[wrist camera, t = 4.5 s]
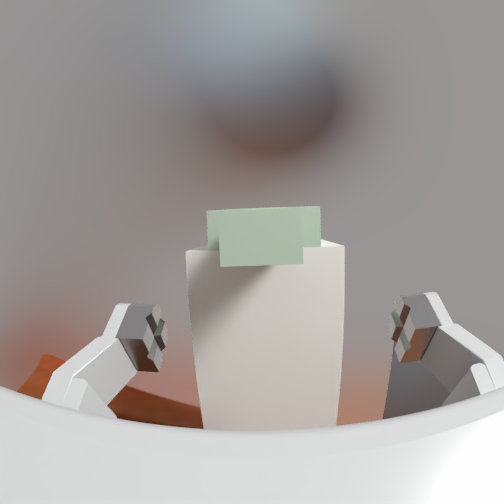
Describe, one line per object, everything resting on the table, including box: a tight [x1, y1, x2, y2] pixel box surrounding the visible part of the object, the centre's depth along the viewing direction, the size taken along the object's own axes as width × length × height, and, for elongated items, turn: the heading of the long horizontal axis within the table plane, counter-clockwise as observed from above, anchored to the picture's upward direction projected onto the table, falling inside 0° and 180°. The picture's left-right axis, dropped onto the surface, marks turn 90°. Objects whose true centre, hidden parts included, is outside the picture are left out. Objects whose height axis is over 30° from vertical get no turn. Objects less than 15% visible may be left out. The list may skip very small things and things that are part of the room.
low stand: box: [383, 341, 504, 419], centre depth 18 cm, size 7×14×18 cm, turn 177°
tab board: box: [207, 206, 321, 267], centre depth 20 cm, size 7×18×2 cm, turn 177°
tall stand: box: [186, 239, 345, 431], centre depth 25 cm, size 10×10×26 cm
